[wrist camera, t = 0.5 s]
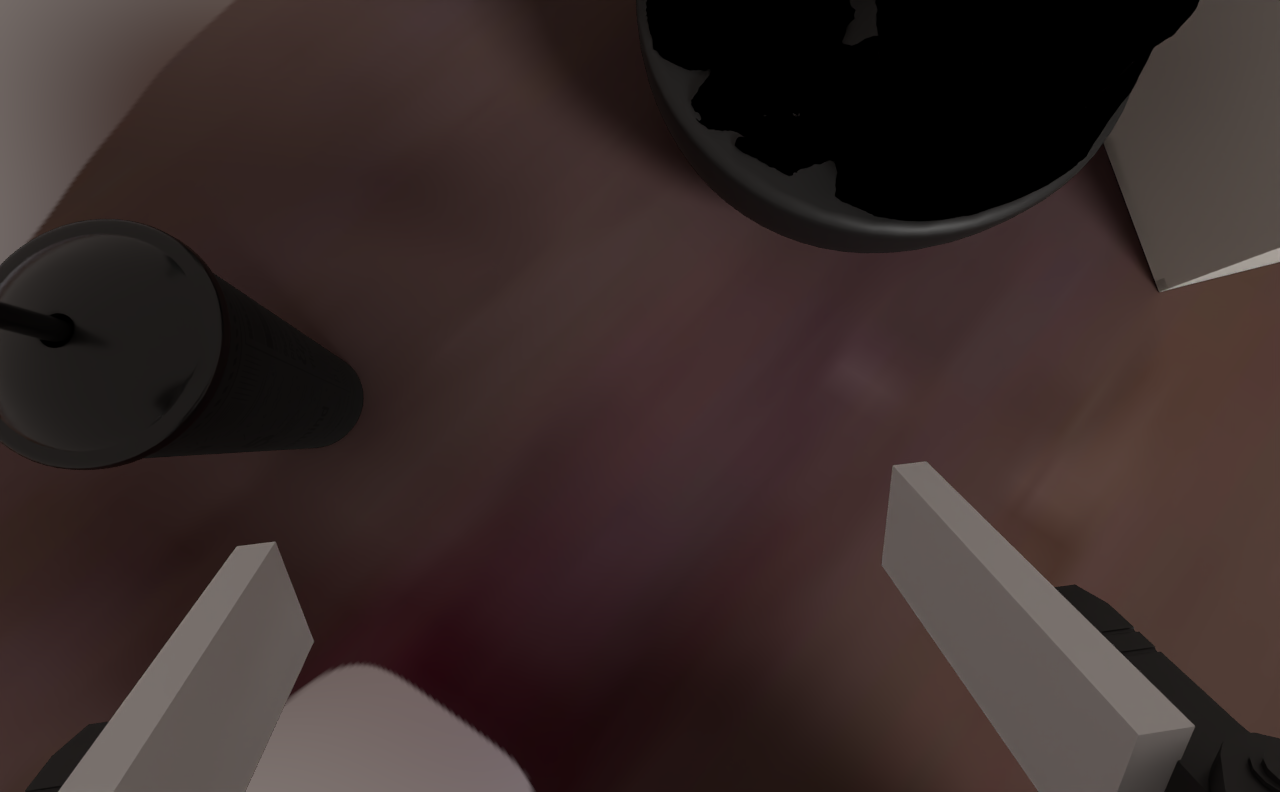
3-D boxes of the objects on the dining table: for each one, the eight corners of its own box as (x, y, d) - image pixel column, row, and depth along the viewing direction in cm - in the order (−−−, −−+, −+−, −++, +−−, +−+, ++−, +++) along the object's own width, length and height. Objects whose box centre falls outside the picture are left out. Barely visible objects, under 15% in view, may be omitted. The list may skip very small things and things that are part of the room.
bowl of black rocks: (742, 374, 33) (885, 230, 14) (572, 55, 35) (506, -424, 17) (1070, 210, 35) (1584, -114, 16) (886, -86, 37) (1144, -669, 18)
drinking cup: (210, 382, 33) (-439, 222, 13) (340, 299, 33) (-87, 24, 14) (289, 507, 32) (-276, 542, 12) (419, 418, 32) (90, 313, 13)
